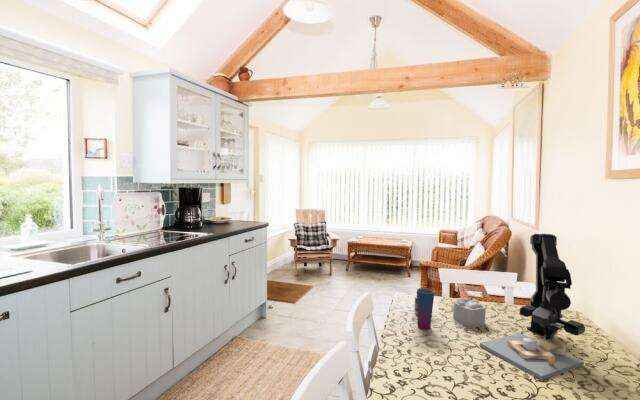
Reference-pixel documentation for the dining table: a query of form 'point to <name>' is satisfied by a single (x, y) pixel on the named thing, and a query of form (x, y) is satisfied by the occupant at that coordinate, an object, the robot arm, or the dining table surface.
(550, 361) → the orange rounded piece
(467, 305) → the lumpy-topped squat cylinder
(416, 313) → the pill bottle
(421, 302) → the cup
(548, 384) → the dining table surface
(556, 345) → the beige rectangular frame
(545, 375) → the board
